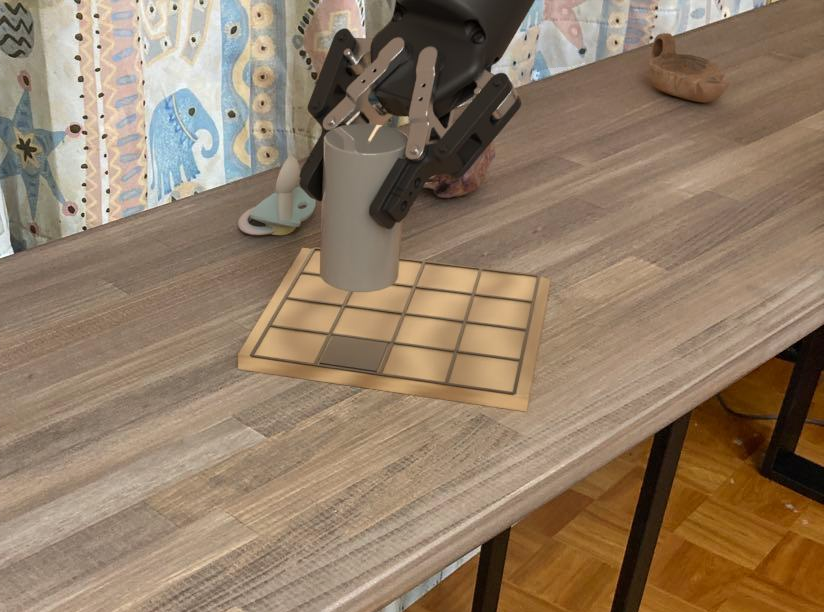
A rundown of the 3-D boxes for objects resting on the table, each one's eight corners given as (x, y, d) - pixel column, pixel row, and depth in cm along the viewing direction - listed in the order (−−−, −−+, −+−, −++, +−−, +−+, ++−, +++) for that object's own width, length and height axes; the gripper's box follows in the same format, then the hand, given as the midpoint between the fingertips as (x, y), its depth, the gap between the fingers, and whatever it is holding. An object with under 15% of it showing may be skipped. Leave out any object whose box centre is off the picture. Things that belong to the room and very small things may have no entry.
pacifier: (225, 238, 96) (290, 248, 94) (221, 165, 92) (289, 174, 90) (259, 207, 101) (322, 215, 99) (257, 136, 97) (322, 144, 95)
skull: (348, 184, 103) (358, 114, 100) (374, 167, 110) (384, 101, 106) (475, 211, 100) (489, 141, 97) (494, 192, 106) (508, 125, 103)
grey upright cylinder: (404, 262, 76) (416, 127, 70) (390, 297, 72) (401, 157, 66) (329, 253, 77) (334, 119, 71) (311, 286, 73) (314, 148, 67)
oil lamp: (739, 109, 122) (751, 61, 119) (676, 113, 121) (687, 65, 118) (681, 73, 132) (691, 28, 129) (622, 76, 131) (631, 31, 128)
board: (549, 291, 88) (552, 276, 87) (526, 413, 74) (529, 395, 74) (302, 260, 92) (302, 245, 91) (237, 370, 78) (236, 353, 77)
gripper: (370, -96, 70) (232, 145, 71) (566, -57, 62) (407, 213, 63) (418, -17, 76) (290, 203, 77) (601, 27, 68) (456, 271, 69)
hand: (344, 206), depth 70 cm, fingers closed on grey upright cylinder, 5 cm apart
